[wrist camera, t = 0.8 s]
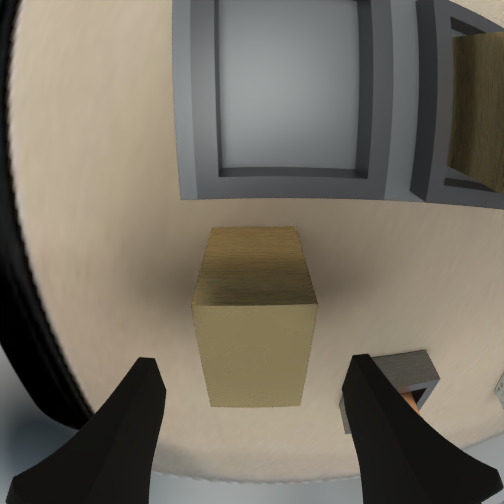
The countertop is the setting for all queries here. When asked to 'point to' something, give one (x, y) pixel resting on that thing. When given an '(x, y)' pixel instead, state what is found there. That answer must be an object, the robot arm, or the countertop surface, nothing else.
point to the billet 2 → (478, 109)
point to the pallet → (320, 99)
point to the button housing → (405, 377)
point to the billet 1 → (254, 317)
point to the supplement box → (500, 390)
